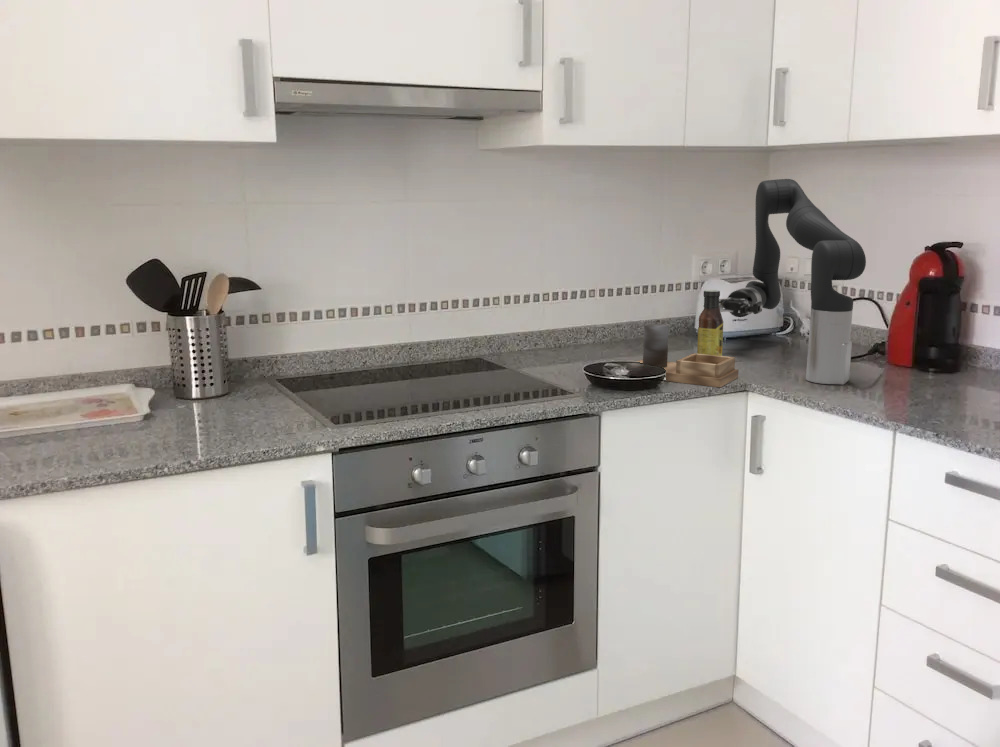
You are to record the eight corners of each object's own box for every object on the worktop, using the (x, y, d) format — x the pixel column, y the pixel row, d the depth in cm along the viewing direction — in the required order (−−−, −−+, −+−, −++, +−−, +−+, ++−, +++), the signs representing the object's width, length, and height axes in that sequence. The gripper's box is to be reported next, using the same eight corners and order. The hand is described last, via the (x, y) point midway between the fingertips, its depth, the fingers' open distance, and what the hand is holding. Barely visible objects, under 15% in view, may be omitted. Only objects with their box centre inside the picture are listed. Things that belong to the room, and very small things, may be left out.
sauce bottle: (724, 370, 225) (728, 292, 220) (699, 370, 225) (702, 292, 221) (718, 365, 231) (722, 289, 227) (694, 365, 231) (697, 289, 227)
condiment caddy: (738, 377, 216) (740, 328, 214) (720, 387, 206) (723, 336, 203) (642, 366, 229) (644, 320, 227) (621, 375, 219) (622, 327, 216)
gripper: (720, 286, 251) (700, 293, 237) (771, 290, 243) (753, 297, 230) (718, 313, 252) (698, 320, 239) (769, 317, 245) (751, 325, 231)
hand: (725, 309), depth 234 cm, fingers open, 8 cm apart
